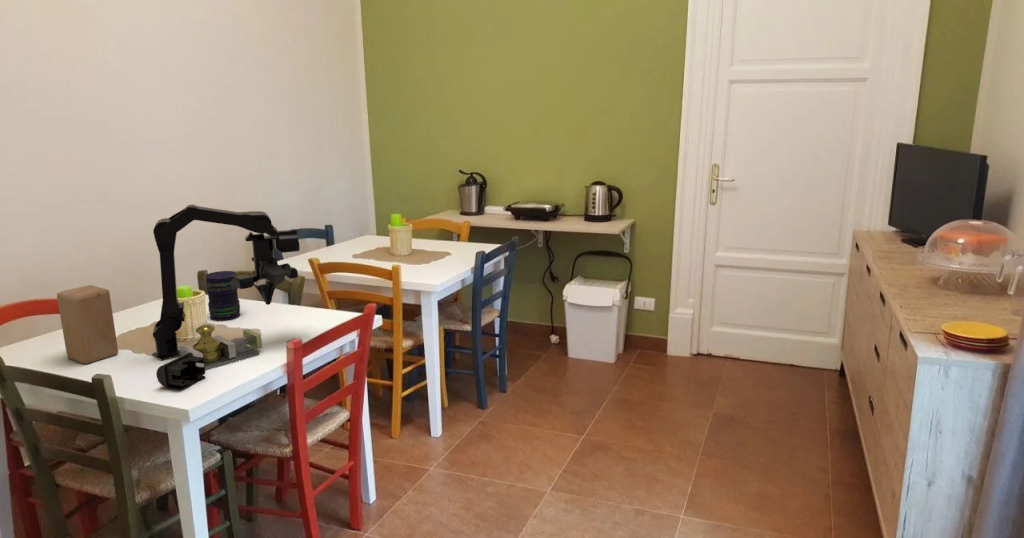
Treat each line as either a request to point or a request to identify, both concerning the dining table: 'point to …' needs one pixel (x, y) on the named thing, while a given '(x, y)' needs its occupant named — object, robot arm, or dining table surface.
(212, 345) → the olive finial
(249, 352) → the vise bed
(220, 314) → the storage jar
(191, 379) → the end cap
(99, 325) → the wooden block
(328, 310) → the dining table surface
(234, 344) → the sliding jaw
